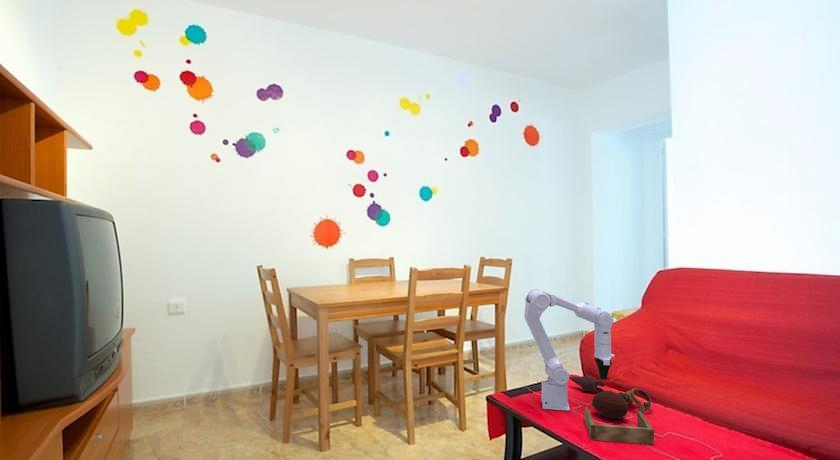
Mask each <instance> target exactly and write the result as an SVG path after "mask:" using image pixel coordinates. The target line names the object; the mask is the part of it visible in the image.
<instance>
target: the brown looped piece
mask: <svg viewBox="0 0 840 460" xmlns="http://www.w3.org/2000/svg"><path fill="white" fill-rule="evenodd" d="M616 393H617V394H618V395H620V396H621V397H623V398H624V400H625V401H626V402H627V404H631V405H633V403H634V404H635V405H636V406H637V407H639V408H638V410H637V411H641V412H642V414H643V413H645V412H648V410H650V409H651V406H652V404H651V403H652V397H651V396H650V395H649V394H648V393H647V392H646V391H644V390H643V389H640V388H638V387H637V388H632V389H629V390H628V391H626V392H625V393H624V392H620V391H619V392H616ZM635 393H638V395H639V396H643V397H645V398H646V402H645V401H644V402H643V404H642V401H641V400H640V399H639V398H638V397H637V396H636V395H635Z"/></svg>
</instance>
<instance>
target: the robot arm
mask: <svg viewBox="0 0 840 460" xmlns="http://www.w3.org/2000/svg"><path fill="white" fill-rule="evenodd" d="M524 300H525V306H524V314H523V315H524V316H523V317H524V320H525V322H526V323H527V326H528V328H529V331H530V332H531V333H530V334H532V337H533V339H534V341H535V343H536V346H537V347H538V351H540V354H541V356H542V358H543V363H544V367H545V369H544V370H545V373H546V375H547V379H546V380H545V381H544V380H543V381H541V396H540V401H541V404H542V409H543V410H554V411H555V410H557V411H570V410H571V409H570V406H569V401H568V382H569V380H570V379H569V377H570V373H569V371H568V370H567V369H566V368H564V366H563V364H562V362H561V361H560V359H559V358H558V356H557V354H556V352H555V350H554V347H553V345H552V343H551V340H550V339H549V337H548V334H547V333H546V331H545V330H546V329H545V328H544V325H543V323H542V321H541V319H540V318H541V316H542V315H543V313H544V312H545V311H546V310H547V309H548V308H549V307H555V306H559V307H561V308H564V309H567V310H569V311H572V312H573V313H574V314H575V316H576V317H577V318H579V319H580V318H581V319H582V320H585V321H587V322H589V323H593V324H594V327H593V328H594V330H593V331H594V333H593V334H594V337H593V338H594V341H593V342H594V353H593V356H594V357H595V358H594V361H595V362H594V363H596V364H595V365H596V366H597V370H598V376H599V379H600V380H607V379H608V375H609V371H610V368H611V366H612V364H613V362H612V360H611V359H612V358H615V354H614V353H612V331H611V330H612V329H611V328H612V326H613V324H614V321H615V320H614V319H613V315H611V313H609V312H607V311H605V310H602V308H601V307H595V306H593V305H591V304H590V303H589V302H587V301H584V302H583V301H581V302H578V303H575V302H573V301H571V300H569V299H566V298H564V297H563V296H560V295H557V294H554V293H552V292H548V291H544V290H543V291H541V290H539V289H531V290H530V291H529V292H527V295H526V297H525V299H524Z"/></svg>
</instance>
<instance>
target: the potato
mask: <svg viewBox="0 0 840 460" xmlns="http://www.w3.org/2000/svg"><path fill="white" fill-rule="evenodd" d="M617 393H618V392H616V391H612V390H605V391H602V392H599V393H598V392H597V393H596V394H595V395H594V396H593V398H592V399H591V403H592V406H593V408H594V409H595V410H596V412H597V413H598V414H600V415H601V416H602V417H605V418H607V419H613V420H619V419H622V418H624V417H626V415H627V413H628V411H629V406H628V405H629V404H628V403H627V402H626V401H625V400H624V398H623V397H621V396H620V395H618V394H617Z"/></svg>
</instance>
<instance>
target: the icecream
mask: <svg viewBox="0 0 840 460" xmlns="http://www.w3.org/2000/svg"><path fill="white" fill-rule="evenodd" d="M569 380H570V381H572V382H573V383H575V384H576V385H577V386H579V387H581V389H582V391H583V392H588V393H593V392H595V391H596V392H597V393H599V392H602V391H606V390H605V389H604V387H605V386H606V385H607V384H606V382H605V381H603V380H597V379H596V378H595V377H594V376H591V375H589V374H587V373H586V375H584V376H569ZM601 387H603V388H601Z"/></svg>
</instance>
